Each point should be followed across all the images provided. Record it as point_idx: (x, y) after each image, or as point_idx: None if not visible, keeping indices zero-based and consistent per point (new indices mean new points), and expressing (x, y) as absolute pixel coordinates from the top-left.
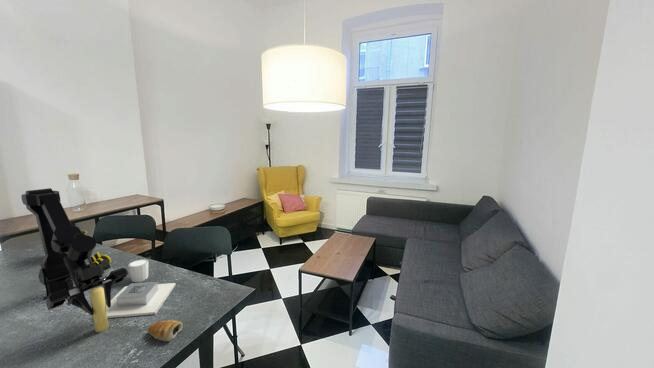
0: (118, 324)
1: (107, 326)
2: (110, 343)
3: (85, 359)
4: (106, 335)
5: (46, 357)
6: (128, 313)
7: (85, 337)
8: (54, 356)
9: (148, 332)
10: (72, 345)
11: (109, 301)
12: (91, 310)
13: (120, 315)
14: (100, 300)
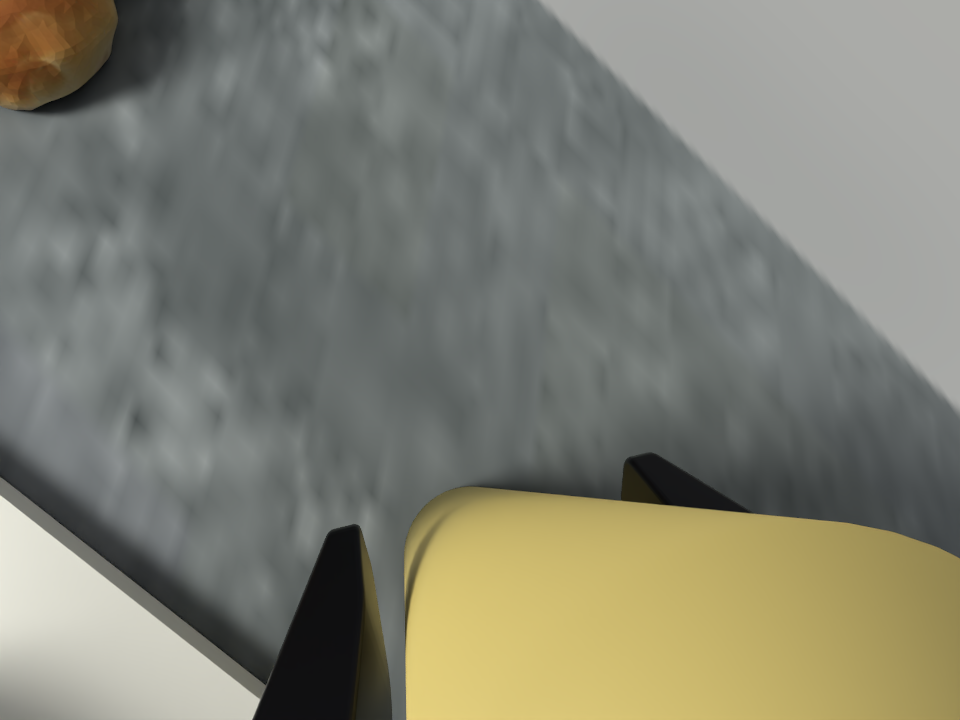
0: (310, 502)
1: (420, 511)
2: (446, 202)
3: (640, 139)
4: (453, 372)
5: (898, 421)
6: (143, 633)
7: None
8: (845, 384)
9: (114, 5)
10: (726, 447)
11: (321, 608)
12: (685, 495)
13: (240, 678)
14: (549, 510)
